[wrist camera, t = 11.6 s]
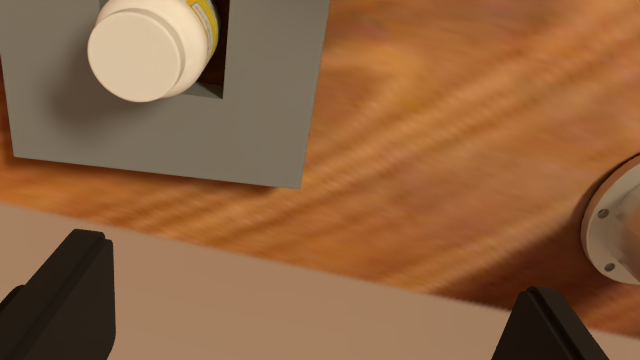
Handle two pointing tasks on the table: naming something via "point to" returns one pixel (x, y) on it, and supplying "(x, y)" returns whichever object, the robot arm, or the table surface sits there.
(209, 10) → the supplement bottle
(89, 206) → the table surface
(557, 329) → the robot arm
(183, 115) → the socket board
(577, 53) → the table surface
